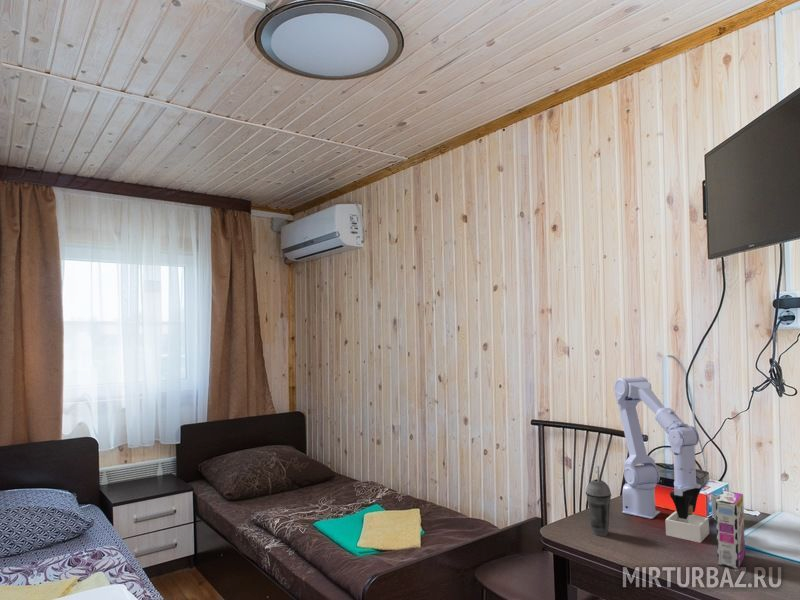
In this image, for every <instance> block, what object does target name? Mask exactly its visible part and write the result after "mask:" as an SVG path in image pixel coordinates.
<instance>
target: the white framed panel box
mask: <svg viewBox="0 0 800 600" xmlns="http://www.w3.org/2000/svg"><path fill="white" fill-rule="evenodd" d="M664 521H665V536H668V537H673V538H677V539H681V540H686V541H691V542H695V543H699V544H700V543H702V542H703V541H704V540H705V539H706V537H708V535H710V523H709V522H710V519H709V517H707V516H700V515H696V514H695V513H693V515H689V524H688V523H685V519H682V518H679V517H678V514H677V510H676V511H674V512H672V513H671V514H670V515H669V516H668V517H666V519H664Z"/></svg>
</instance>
